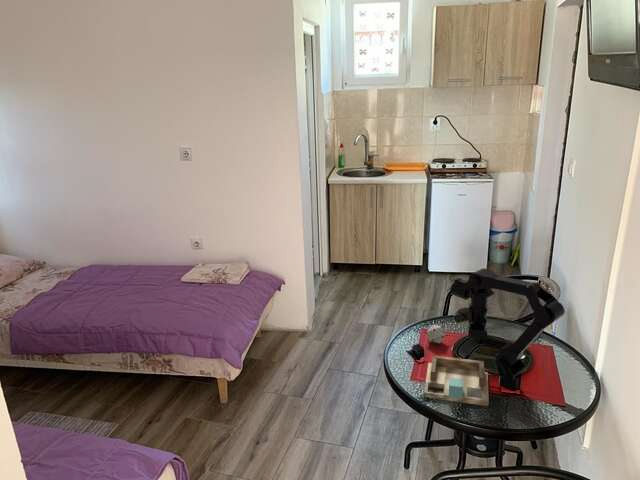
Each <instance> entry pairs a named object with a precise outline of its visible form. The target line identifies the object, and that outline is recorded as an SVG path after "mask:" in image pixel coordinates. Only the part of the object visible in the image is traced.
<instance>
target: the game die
mask: <svg viewBox="0 0 640 480" xmlns="http://www.w3.org/2000/svg"><path fill="white" fill-rule="evenodd" d="M444 327H445V325H444V324H443V325H438V324H435V323H433V322H431V325H430V327H429V328H428V329H427V330H426V331H424V334H426V335H427V338H428V342H429V343H431V342H432V343H435V344H439V346H440V345H441V346H442V344H441V343H442V342H443V341H444V340H445V339H446V337H448V336H449V335H448V334H446V331H445V328H444ZM428 342H427V343H428Z"/></svg>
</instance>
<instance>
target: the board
mask: <svg viewBox="0 0 640 480" xmlns="http://www.w3.org/2000/svg"><path fill="white" fill-rule="evenodd" d="M431 365H432V362H428V363H427V369H426V370H427V371H426V377H425V384H424V391H423V398H427V397H429V399H436V400H441V401H449V402H456V403H462V404H463V403H464V404H471V405H478V406H485V407H489V402H490V397H489V377H488V375H489V374H488V373H489V372H485V371H484V387H481V386H479V371H472V370H464V369H455V368H447V367H439V366H436V374H435V380H430V375H431ZM450 378H456V379H463V397H462V399H461V398H454V397H449V381H450Z"/></svg>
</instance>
